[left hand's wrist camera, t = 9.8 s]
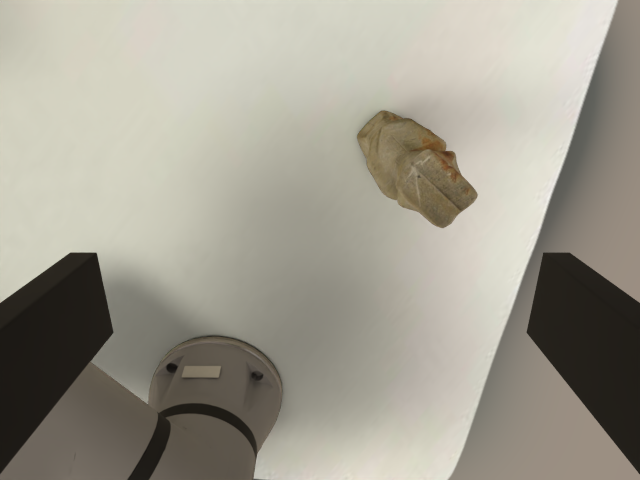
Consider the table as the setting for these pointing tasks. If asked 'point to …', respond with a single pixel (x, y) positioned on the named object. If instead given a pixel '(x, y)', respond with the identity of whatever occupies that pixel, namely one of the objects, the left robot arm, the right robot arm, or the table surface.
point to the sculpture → (415, 168)
